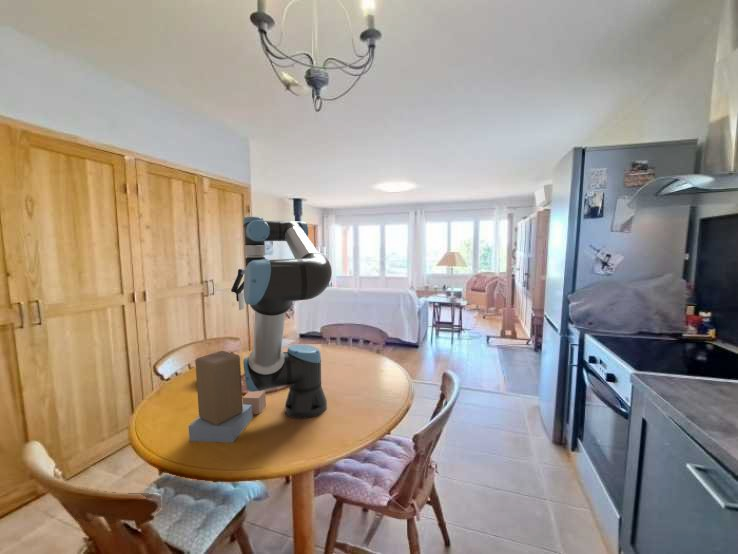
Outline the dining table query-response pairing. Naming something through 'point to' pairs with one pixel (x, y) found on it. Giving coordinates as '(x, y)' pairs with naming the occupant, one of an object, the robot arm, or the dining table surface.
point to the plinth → (220, 428)
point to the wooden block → (219, 386)
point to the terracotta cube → (255, 401)
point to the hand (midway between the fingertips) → (257, 309)
